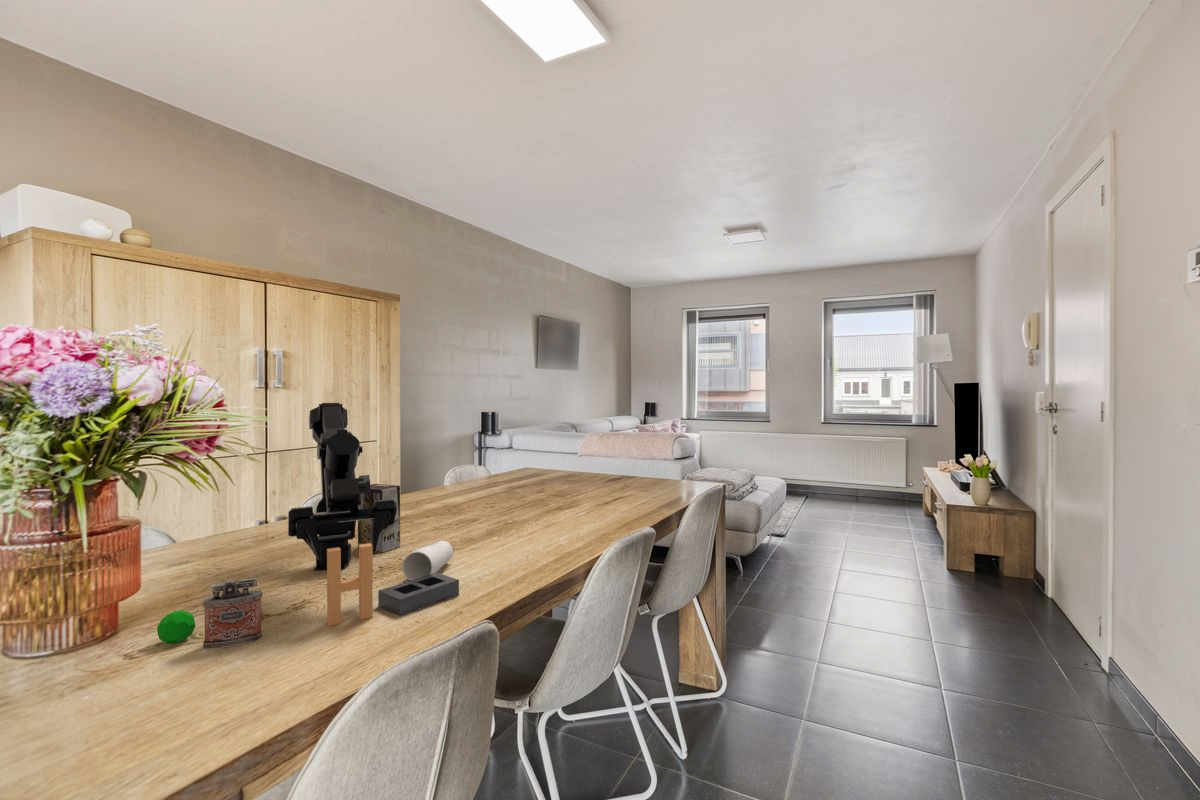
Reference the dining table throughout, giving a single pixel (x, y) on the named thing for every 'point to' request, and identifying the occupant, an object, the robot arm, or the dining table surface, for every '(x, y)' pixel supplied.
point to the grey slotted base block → (418, 593)
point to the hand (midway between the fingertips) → (347, 555)
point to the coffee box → (387, 536)
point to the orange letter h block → (349, 584)
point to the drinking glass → (426, 560)
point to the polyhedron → (176, 627)
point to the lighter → (232, 614)
